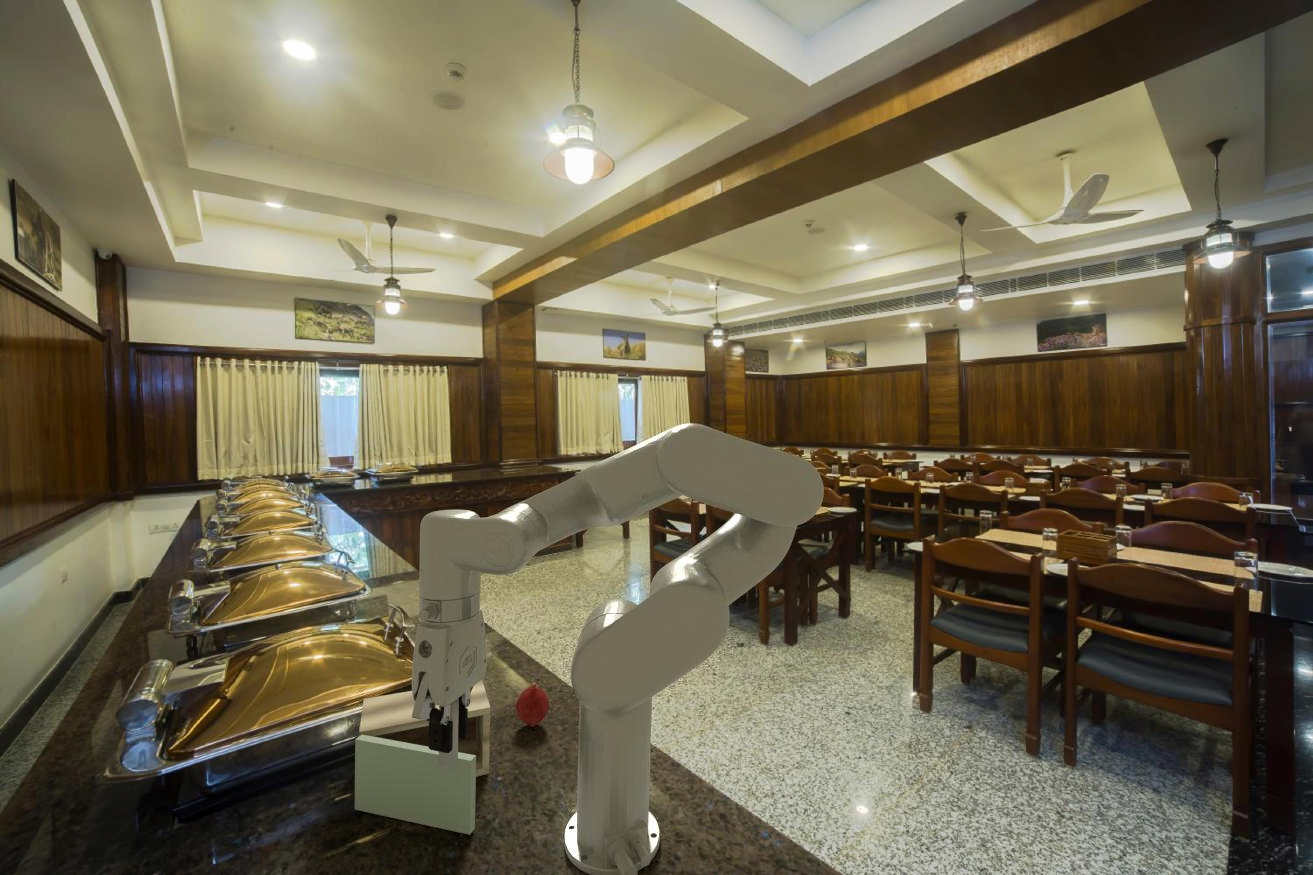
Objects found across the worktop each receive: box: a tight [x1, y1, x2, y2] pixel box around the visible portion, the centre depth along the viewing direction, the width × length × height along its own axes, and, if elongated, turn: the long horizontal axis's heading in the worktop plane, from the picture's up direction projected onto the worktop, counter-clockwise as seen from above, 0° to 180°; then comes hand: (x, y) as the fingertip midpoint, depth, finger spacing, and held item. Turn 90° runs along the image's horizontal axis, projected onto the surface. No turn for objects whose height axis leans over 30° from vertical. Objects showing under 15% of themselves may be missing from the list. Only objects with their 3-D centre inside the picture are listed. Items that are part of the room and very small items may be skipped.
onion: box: [515, 682, 550, 728], centre depth 99 cm, size 6×6×8 cm
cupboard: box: [358, 678, 491, 777], centre depth 86 cm, size 10×18×10 cm, turn 115°
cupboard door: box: [354, 698, 477, 836], centre depth 74 cm, size 3×18×18 cm, turn 77°
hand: (448, 742), depth 72 cm, fingers closed on cupboard door, 2 cm apart
